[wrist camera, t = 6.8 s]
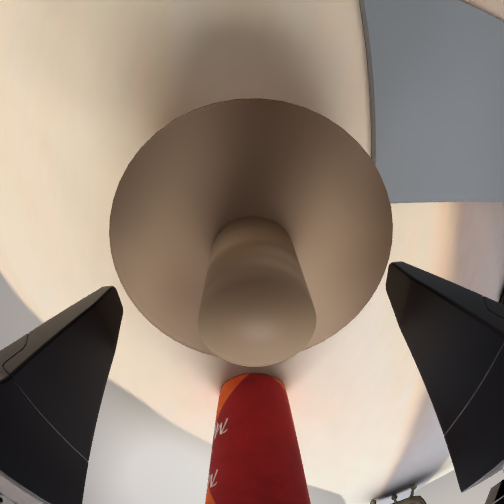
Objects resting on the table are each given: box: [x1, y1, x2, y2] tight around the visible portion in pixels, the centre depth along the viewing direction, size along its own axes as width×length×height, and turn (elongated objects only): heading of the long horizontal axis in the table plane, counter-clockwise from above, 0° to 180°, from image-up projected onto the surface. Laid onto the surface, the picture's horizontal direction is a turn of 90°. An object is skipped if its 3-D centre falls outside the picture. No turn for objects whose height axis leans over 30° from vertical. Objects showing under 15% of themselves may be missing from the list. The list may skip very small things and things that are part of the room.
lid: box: [109, 99, 393, 367], centre depth 9 cm, size 11×11×5 cm
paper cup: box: [205, 374, 311, 504], centre depth 17 cm, size 8×8×14 cm
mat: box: [359, 0, 504, 203], centre depth 13 cm, size 14×14×1 cm
